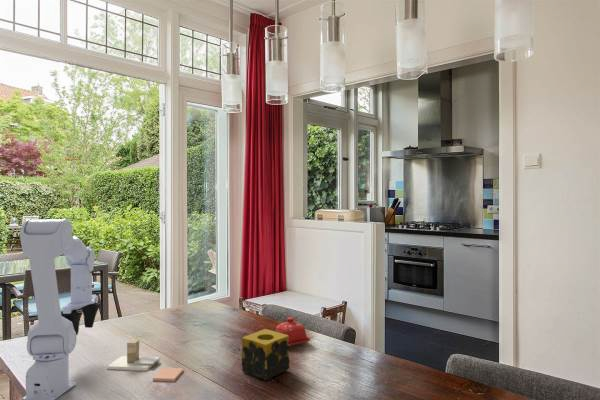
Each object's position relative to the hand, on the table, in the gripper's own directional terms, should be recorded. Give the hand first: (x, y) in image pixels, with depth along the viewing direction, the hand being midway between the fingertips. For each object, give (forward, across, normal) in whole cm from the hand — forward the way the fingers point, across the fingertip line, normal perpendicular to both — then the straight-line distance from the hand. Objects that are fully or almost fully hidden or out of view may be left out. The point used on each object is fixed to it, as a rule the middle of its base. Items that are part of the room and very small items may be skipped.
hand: (81, 331), depth 126 cm
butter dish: (+10, +23, -62) cm, 67 cm away
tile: (+9, -8, -28) cm, 30 cm away
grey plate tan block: (+8, -1, -17) cm, 19 cm away
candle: (+10, -2, -57) cm, 58 cm away
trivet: (+9, -1, -17) cm, 19 cm away
